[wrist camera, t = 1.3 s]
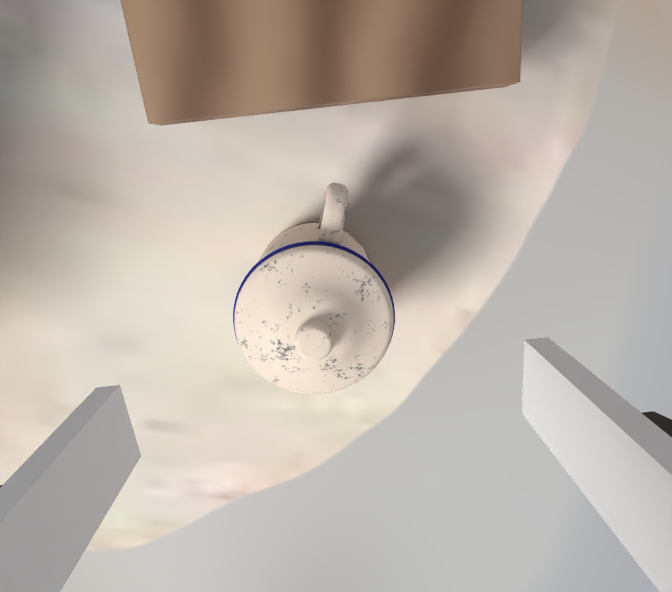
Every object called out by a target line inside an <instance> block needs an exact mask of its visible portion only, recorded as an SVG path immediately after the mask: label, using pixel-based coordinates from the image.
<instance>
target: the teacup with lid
mask: <svg viewBox="0 0 672 592" xmlns="http://www.w3.org/2000/svg"><path fill="white" fill-rule="evenodd" d="M347 203H348V189H347V187H346V186H345V185H342V184H338V183H331V184H330V185H329V186H328V187H327V189H326V193H325V197H324V201H323V206H322V210H321V215H320V221H319V223H307V224H301V225H297V226H294V227H292V228H290V229H288V230H286V231H284V232H282V233H281V234H279V235H278V236H277V237H276V238H275V239H273V240H272V242H271V243H270V244H269V245H268V246H267V248H266V249H265V251H264V252H263V254H262V256H261V258H260V260H259V262H258V263H257V264H256V265H255V266H254V267H253V268H252V269H251V270H250V271H249V273H248V274H247V275H246V277H245V278H244V280H243V282H242V283H241V285H240V288H239V290H238V292H237V296H236V299H235V304H234V311H233V323H234V330H235V335H236V338H237V341H238V344H239V346H240V348H241V350H242V352H243V354H244V356H245V357H246V359H247V360H248V362H249V363H250V364H251V366H252V367H253V368H254V369H255V370H256V371H257V372H258V373H259V374H260V375H262V376H263V377H264V378H266V379H267V380H269V381H270V382H272V383H273V384H275V385H277V386H279V387H282V388H284V389H287V390H290V391H294V392H299V393H306V394H322V393H329V392H334V391H338V390H341V389H344V388H346V387H348V386H351V385H353V384H354V383H356V382H358V381H359V380H361V379H362V378H364V377H365V376H366V375H368V374H369V373H370V372H371V371H372V370H373V369H374V368H375V367H376V366H377V364H378V363H379V362H380V360H381V359H382V357H383V356H384V354H385V352H386V350H387V348H388V346H389V344H390V341H391V338H392V335H393V330H394V323H395V310H394V303H393V299H392V295H391V292H390V290H389V288H388V285H387V283H386V282H385V280H384V278H383V277H382V275H381V274H380V272H379V271H378V270H377V269H376V268H375V267H374V266H373V265H372V262H371V260H370V258H369V256H368V254H367V253H366V251H365V249H364V248H363V246H362V245H361V244H360V243H359V242H358V241H357V240H356V239H355V238H354V237H353V236H352V235H350V234H349V233H348V232H346V231H344V230H343V226H344V221H345V215H346V210H347Z"/></svg>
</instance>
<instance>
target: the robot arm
mask: <svg viewBox="0 0 672 592" xmlns="http://www.w3.org/2000/svg"><path fill="white" fill-rule="evenodd" d="M523 373H524V375H523V403H522V414H523V415H524V417H525V418H526V419H527V421H528V422H529V423H530V424H531V426H532V427H533V428H534V430H535V431H536V432H537V433H538V435H539V436H540V437H541V439H542V440H543V441H544V442H545V443H546V445H547V446H548V448H549V449H550V450H551V452H552V453H553V454H554V455H555V457H556V458H557V459H558V461H559V462H560V463H561V464H562V466H563V467H564V468H565V470H566V471H567V472H568V474H569V475H570V476H571V477H572V479H573V480H574V481H575V483H576V484H577V485H578V486H579V488H580V489H581V490H582V492H583V493H584V494H585V495H586V497H587V498H588V500H589V501H590V502H591V503H592V505H593V506H594V507H595V509H596V510H597V511H598V512H599V514H600V515H601V516H602V518H603V519H604V520H605V522H606V523H607V524H608V525H609V527H610V528H611V529H612V530H613V532H614V533H615V534H616V536H617V537H618V538H619V540H620V541H621V542H622V543H623V545H624V546H625V547H626V549H627V550H628V551H629V553H630V554H631V555H632V557H633V558H634V559H635V560H636V562H637V563H638V564H639V566H640V567H641V568H642V569H643V571H644V572H645V573H646V575H647V576H648V577H649V579H650V580H651V581H652V582H653V584H654V585H655V586H656V588H657V589H658V590H659V591H660V592H672V420H671V419H669V418H667V417H664V416H662V415H660V414H658V413H656V412H645V413H641V412H639V411H638V410H637V409H636V408H635V407H633V406H632V405H631V404H630V403H628V402H627V401H626V400H625V399H623V398H622V397H621V396H620V395H619V394H617V393H616V392H615V391H614V390H612V389H611V388H610V387H609V386H607V385H606V384H605V383H604V382H603V381H601V380H600V379H599V378H598V377H596V376H595V375H594V374H593V373H592V372H590V371H589V370H588V369H587V368H585V367H584V366H583V365H582V364H580V363H579V362H578V361H577V360H575V359H574V358H573V357H572V356H570V355H569V354H568V353H567V352H565V351H564V350H563V349H562V348H561V347H559V346H558V345H557V344H556V343H555V342H553V341H551V339H549V338H548V337H547V338H538V339H529V340H524V372H523ZM140 457H141V455H140V452H139V448H138V445H137V441H136V438H135V435H134V431H133V428H132V425H131V421H130V418H129V415H128V411H127V408H126V404H125V401H124V398H123V394H122V391H121V388H120V385H116V386H107V387H98V388H95V390H94V391H93V392H92V393H91V394H90V395H89V396H88V397H87V398H86V399H85V400H84V401H83V402H82V403H81V404H80V405H79V406H78V407H77V408H76V409H75V410H74V411H73V412H72V414H71V415H70V416H69V417H68V418H67V419H66V420H65V421H64V422H63V423H62V424H61V425H60V426H59V427H58V428H57V429H56V430H55V431H54V432H53V433H52V434H51V435H50V436H49V437H48V439H47V440H46V441H45V442H44V443H43V444H42V445H41V446H40V447H39V448H38V449H37V450H36V451H35V452H34V453H33V454H32V455H31V456H30V457H29V458H28V459H27V460H26V461H25V463H24V464H23V465H22V466H21V467H20V468H19V469H18V470H17V471H16V472H15V473H14V474H13V475H12V476H11V477H10V478H9V479H8V480H7V481H6V482H5V483H4V484H3V485H0V592H60V591H61V589H62V588H63V586H64V584H65V582H66V581H67V579H68V577H69V576H70V574H71V572H72V571H73V569H74V567H75V566H76V564H77V562H78V561H79V559H80V557H81V556H82V554H83V552H84V551H85V549H86V547H87V546H88V544H89V542H90V540H91V539H92V537H93V535H94V534H95V532H96V530H97V529H98V527H99V525H100V524H101V522H102V520H103V519H104V517H105V515H106V514H107V512H108V510H109V509H110V507H111V505H112V504H113V502H114V500H115V498H116V497H117V495H118V493H119V492H120V490H121V488H122V487H123V485H124V483H125V482H126V480H127V478H128V477H129V475H130V473H131V472H132V470H133V468H134V467H135V465H136V463H137V462H138V460H139V458H140Z"/></svg>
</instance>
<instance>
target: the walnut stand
mask: <svg viewBox="0 0 672 592" xmlns="http://www.w3.org/2000/svg"><path fill="white" fill-rule="evenodd" d="M121 4H122V9H123V13H124V18H125V22H126V26H127V31H128V35H129V40H130V44H131V49H132V53H133V57H134V62H135V66H136V71H137V75H138V79H139V84H140V88H141V93H142V97H143V102H144V106H145V110H146V115H147V119H148V123H150V124H156V125H169V124H178V123H187V122H196V121H205V120H214V119H223V118H231V117H240V116H249V115H258V114H267V113H276V112H285V111H294V110H303V109H312V108H321V107H330V106H339V105H348V104H357V103H366V102H375V101H384V100H393V99H402V98H411V97H419V96H428V95H437V94H446V93H455V92H464V91H473V90H482V89H491V88H500V87H506V86H509V85H512V84H515V83H518V82H520V64H521V23H522V0H121Z"/></svg>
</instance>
